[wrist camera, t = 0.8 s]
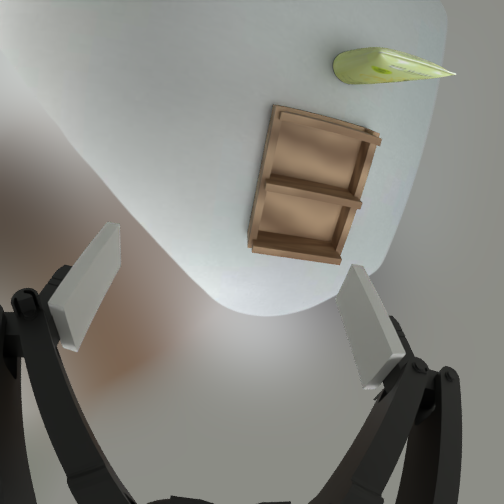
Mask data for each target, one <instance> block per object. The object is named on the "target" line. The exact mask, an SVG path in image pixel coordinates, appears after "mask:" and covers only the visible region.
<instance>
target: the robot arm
mask: <svg viewBox="0 0 504 504" xmlns="http://www.w3.org/2000/svg"><path fill="white" fill-rule="evenodd" d="M120 266H121V249H120V224H118V223H112V222H107V223H106V224H105V225H104V227H103V228H102V229H101V231H100V232H99V233H98V234H97V235H96V237H95V238H94V239H93V240H92V242H91V243H90V244H89V245H88V247H87V248H86V249H85V251H84V252H83V253H82V255H81V256H80V257H79V259H78V260H77V261H76V263H75V264H74V265H73V266H68V265H64V266H63V267H61V268H60V269H58V270H57V271H56V272H55V274H54V275H53V276H52V279H50V281H49V282H48V284H46V286H45V287H44V288H43V290H42V291H41V293H40V294H39V295H38V293H37V291H36V290H34V289H32V288H24V289H21V290H19V291H17V292H16V293H15V294H14V295H13V297H12V299H11V305H12V307H13V310H14V312H4V310H3V308H2V306H1V305H0V504H37V503H36V498H35V493H34V489H33V484H32V480H31V475H30V470H29V465H28V459H27V452H26V446H25V439H24V438H25V437H24V428H23V418H22V404H21V403H22V401H21V357H24V358H25V363H26V367H27V371H28V374H29V378H30V382H31V385H32V389H33V392H34V396H35V399H36V402H37V405H38V408H39V411H40V414H41V417H42V419H43V422H44V425H45V428H46V430H47V433H48V435H49V438H50V440H51V443H52V445H53V447H54V450H55V452H56V454H57V456H58V458H59V461H60V463H61V465H62V467H63V469H64V471H65V473H66V476H67V483H68V486H69V488H70V491H71V493H72V494H73V496H74V498H75V500H76V501H77V503H78V504H137V503H136V502H135V500H134V499H133V498H132V496H131V495H130V493H129V492H128V490H127V489H126V488H125V487H124V485H123V484H122V482H121V481H120V479H119V478H118V476H117V475H116V473H115V471H114V470H113V468H112V467H111V465H110V463H109V462H108V460H107V458H106V456H105V455H104V453H103V451H102V450H101V447H100V446H99V444H98V442H97V440H96V438H95V436H94V434H93V432H92V430H91V428H90V426H89V424H88V422H87V420H86V418H85V416H84V414H83V412H82V410H81V408H80V405H79V403H78V401H77V398H76V396H75V394H74V391H73V389H72V386H71V384H70V381H69V379H68V376H67V374H66V371H65V368H64V366H63V363H62V360H61V357H60V355H59V352H58V349H57V344H58V342H59V340H60V341H61V344H62V346H63V348H66V349H69V350H73V351H75V352H78V349H79V347H80V345H81V343H82V341H83V338H84V336H85V334H86V332H87V330H88V328H89V326H90V324H91V322H92V320H93V317H94V316H95V314H96V311H97V310H98V308H99V306H100V303H101V302H102V300H103V298H104V296H105V294H106V292H107V290H108V288H109V286H110V285H111V283H112V281H113V279H114V277H115V275H116V273H117V272H118V270H119V268H120ZM335 301H336V304H337V307H338V310H339V313H340V316H341V319H342V322H343V325H344V328H345V331H346V334H347V337H348V340H349V344H350V347H351V350H352V352H353V356H354V359H355V363H356V366H357V369H358V373H359V376H360V379H361V382H362V386H363V389H376V388H377V387H378V386H379V385H380V384H381V383H382V382H383V384H384V387H385V388H384V389H383V390H382V391H381V392H380V393H379V394H378V395H377V396H376V397H375V398H374V400H376V399H377V401H376V403H375V404H374V406H373V408H372V410H371V412H370V414H369V416H368V417H367V419H366V421H365V423H364V425H363V427H362V428H361V430H360V432H359V433H358V435H357V437H356V439H355V440H354V442H353V444H352V445H351V447H350V448H349V450H348V452H347V453H346V455H345V456H344V458H343V460H342V461H341V463H340V464H339V466H338V467H337V469H336V470H335V472H334V473H333V475H332V476H331V477H330V479H329V480H328V482H327V483H326V484H325V486H324V487H323V489H322V490H321V491H320V493H319V494H318V495H317V496H316V497H315V498H314V499H313V500H311V501H310V502H309V503H308V504H383V503H384V499H383V498H382V497H381V494H382V492H383V490H384V488H385V486H386V484H387V482H388V480H389V478H390V476H391V474H392V472H393V470H394V468H395V466H396V464H397V461H398V459H399V457H400V454H401V452H402V450H403V448H404V445H405V443H406V440H407V438H408V442H407V448H406V455H405V461H404V467H403V471H402V477H401V482H400V486H399V491H398V495H397V499H396V503H395V504H457V502H458V494H459V485H460V472H461V458H462V410H461V393H460V382H459V376H458V374H457V373H456V371H455V370H454V369H452V368H451V367H448V366H445V367H443V368H442V369H441V370H440V371H439V372H436V371H433V370H430V369H429V368H428V366H427V364H426V363H425V362H424V361H423V360H422V359H420V358H417V357H414V354H413V352H412V350H411V348H410V345H409V343H408V341H407V339H406V338H405V335H404V333H403V332H402V329H401V327H400V325H399V323H398V322H397V320H396V319H395V318H394V317H393V316H388V314H387V312H386V310H385V308H384V306H383V304H382V302H381V300H380V298H379V296H378V294H377V292H376V290H375V288H374V286H373V284H372V282H371V280H370V278H369V276H368V274H367V273H366V271H365V269H364V267H363V266H360V265H354V264H352V265H351V267H350V269H349V271H348V274H347V276H346V278H345V280H344V282H343V284H342V286H341V288H340V291H339V293H338V295H337V297H336V299H335ZM147 504H213V503H210V502H207V501H204V500H200V499H192V498H184V497H177V496H171V498H170V499H163V500H157V501H153V502H150V503H147ZM259 504H291V502H290V501H289V502H262V503H259Z"/></svg>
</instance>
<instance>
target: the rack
mask: <svg viewBox="0 0 504 504" xmlns="http://www.w3.org/2000/svg"><path fill="white" fill-rule="evenodd" d="M379 135H380V134H379V133H377V132H375V131H372V130H370V129H367V128H364V127H361V126H358V125H354V124H351V123H348V122H344V121H341V120H337V119H334V118H330V117H326V116H322V115H319V114H315V113H311V112H306V111H302V110H298V109H293V108H289V107H284V106H279V105H274V104H273V108H272V113H271V118H270V123H269V128H268V132H267V137H266V142H265V147H264V152H263V157H262V162H261V167H260V172H259V177H258V182H257V187H256V192H255V197H254V202H253V207H252V212H251V217H250V223H249V228H248V233H247V234H248V248H252V253H259V254H266V255H273V256H280V257H287V258H294V259H301V260H308V261H315V262H322V263H329V264H336V265H340V263H341V260H342V259H341V256H340V255H341V252H342V250H343V247H344V244H345V241H346V239H347V236H348V233H349V230H350V227H351V225H352V222H353V219H354V216H355V213H356V210H357V209H360V208H361V205H362V202H361V201H360V198H361V195H362V192H363V189H364V186H365V183H366V179H367V176H368V173H369V170H370V166H371V163H372V160H373V156H374V153H375V149H376V146H380V144H381V140H382V139H381V138H379Z"/></svg>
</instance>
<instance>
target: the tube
mask: <svg viewBox="0 0 504 504" xmlns="http://www.w3.org/2000/svg"><path fill="white" fill-rule="evenodd" d="M333 69H334V73H335V75H336V76H337V77H338V78H339V79H340V80H341V81H342V82H344V83H347V84H375V83H389V82H401V81H410V80H420V79H430V78H438V77H444V76H450V75H456V74H455V73H452V72H449V71H447V70H446V69H444V68H442V67H440V66H438V65H436V64H434V63H432V62H430V61H427V60H425V59H422V58H419V57H417V56H413V55H410V54H407V53H404V52H400V51H396V50H392V49H388V48H380V47H370V48H361V49H356V50H351V51H346V52H343V53H341V54H339V55H338V56H337V57H336V58H335V60H334V63H333Z"/></svg>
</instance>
